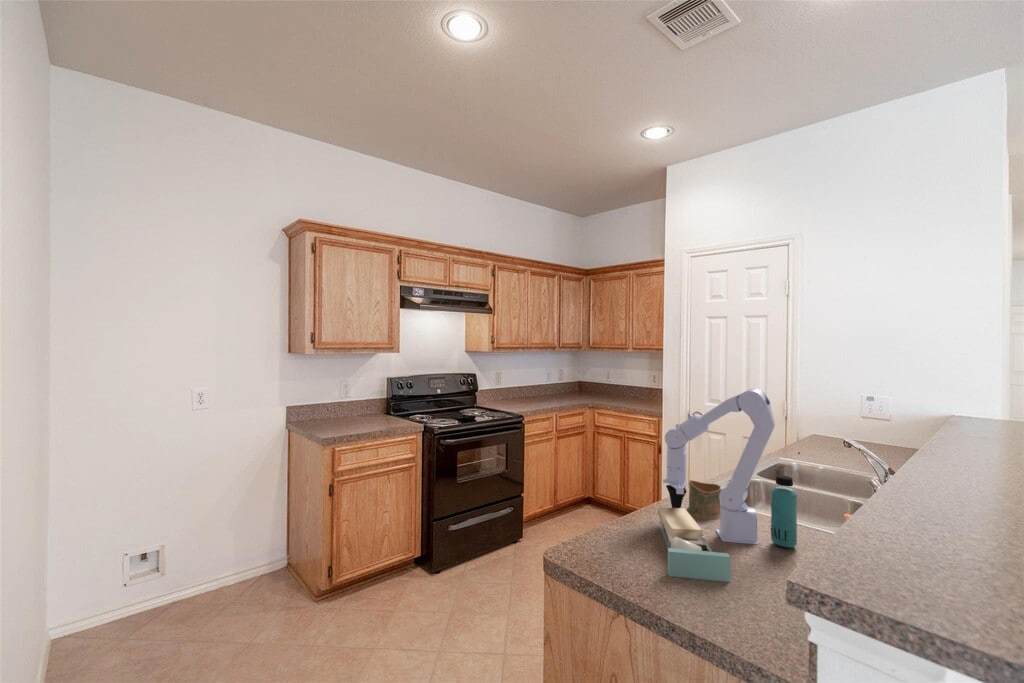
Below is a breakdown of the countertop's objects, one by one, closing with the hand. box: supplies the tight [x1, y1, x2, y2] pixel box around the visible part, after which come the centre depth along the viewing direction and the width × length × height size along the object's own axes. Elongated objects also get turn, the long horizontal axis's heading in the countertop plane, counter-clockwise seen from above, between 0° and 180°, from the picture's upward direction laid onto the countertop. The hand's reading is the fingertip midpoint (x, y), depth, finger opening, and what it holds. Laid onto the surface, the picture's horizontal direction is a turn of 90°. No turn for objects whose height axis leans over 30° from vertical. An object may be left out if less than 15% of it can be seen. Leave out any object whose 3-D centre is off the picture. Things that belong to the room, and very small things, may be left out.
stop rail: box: [667, 548, 731, 583], centre depth 111 cm, size 14×2×6 cm, turn 79°
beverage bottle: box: [770, 475, 798, 548], centre depth 127 cm, size 6×7×20 cm
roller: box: [671, 537, 702, 551], centre depth 119 cm, size 7×4×4 cm
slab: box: [657, 507, 703, 539], centre depth 131 cm, size 8×16×2 cm, turn 175°
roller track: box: [659, 519, 713, 552], centre depth 125 cm, size 11×27×4 cm, turn 169°
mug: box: [685, 479, 730, 520], centre depth 151 cm, size 12×18×12 cm, turn 73°
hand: (676, 509), depth 143 cm, fingers closed
